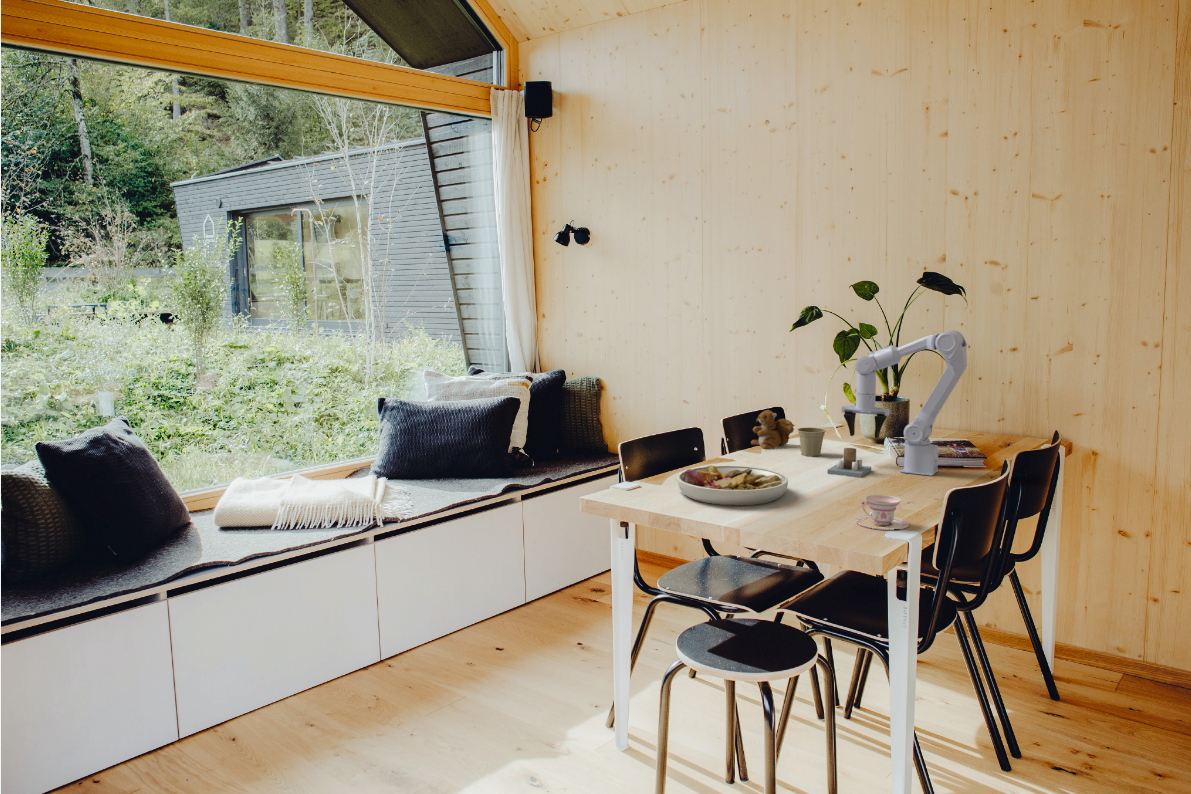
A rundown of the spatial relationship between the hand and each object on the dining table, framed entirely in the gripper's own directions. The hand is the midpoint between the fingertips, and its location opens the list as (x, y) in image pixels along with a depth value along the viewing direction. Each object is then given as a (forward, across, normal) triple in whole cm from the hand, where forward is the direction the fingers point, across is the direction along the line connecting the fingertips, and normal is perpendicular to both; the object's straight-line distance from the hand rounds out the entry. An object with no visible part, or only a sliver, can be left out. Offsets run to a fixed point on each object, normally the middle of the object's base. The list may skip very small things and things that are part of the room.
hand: (864, 436), depth 259 cm
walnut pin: (+8, +1, +11) cm, 14 cm away
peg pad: (+9, +1, +11) cm, 15 cm away
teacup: (+10, -23, +61) cm, 66 cm away
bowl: (+10, +20, +54) cm, 58 cm away
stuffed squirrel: (+10, +37, -16) cm, 41 cm away
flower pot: (+10, +20, -8) cm, 24 cm away
